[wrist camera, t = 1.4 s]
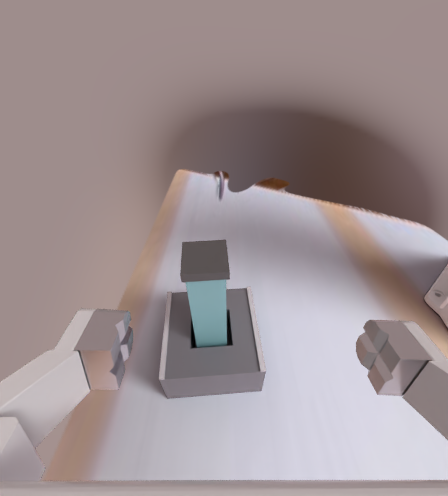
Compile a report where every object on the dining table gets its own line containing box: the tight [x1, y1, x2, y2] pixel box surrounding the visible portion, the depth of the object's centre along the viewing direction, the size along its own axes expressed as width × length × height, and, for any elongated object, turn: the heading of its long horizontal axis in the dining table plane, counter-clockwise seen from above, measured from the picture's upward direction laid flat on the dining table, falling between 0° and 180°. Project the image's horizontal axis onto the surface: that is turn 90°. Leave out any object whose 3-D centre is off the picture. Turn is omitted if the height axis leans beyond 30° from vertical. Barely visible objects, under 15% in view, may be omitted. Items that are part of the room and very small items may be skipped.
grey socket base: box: [159, 287, 266, 398], centre depth 37 cm, size 12×12×6 cm
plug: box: [180, 240, 230, 348], centre depth 32 cm, size 4×4×18 cm
